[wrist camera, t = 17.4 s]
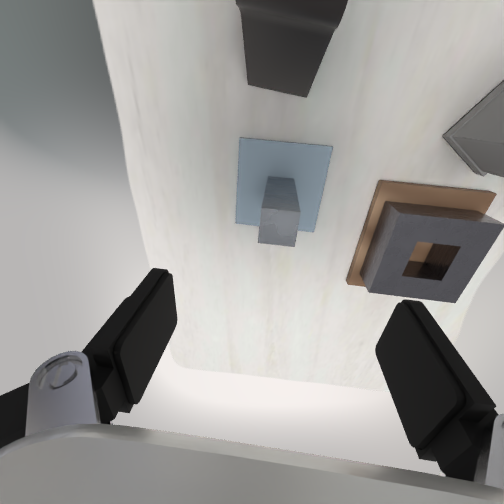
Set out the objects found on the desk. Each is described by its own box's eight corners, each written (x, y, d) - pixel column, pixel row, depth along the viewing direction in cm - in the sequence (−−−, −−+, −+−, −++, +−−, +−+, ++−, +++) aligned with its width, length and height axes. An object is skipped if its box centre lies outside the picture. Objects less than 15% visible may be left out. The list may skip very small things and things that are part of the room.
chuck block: (385, 200, 28) (400, 213, 24) (476, 210, 27) (505, 224, 24) (359, 273, 33) (368, 292, 29) (436, 282, 32) (455, 303, 29)
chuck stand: (379, 179, 28) (382, 182, 27) (489, 191, 27) (496, 193, 26) (346, 280, 35) (347, 284, 34) (433, 290, 34) (437, 295, 33)
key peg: (267, 176, 28) (261, 207, 19) (294, 178, 28) (300, 211, 19) (265, 201, 30) (257, 242, 20) (290, 203, 30) (294, 246, 20)
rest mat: (240, 137, 27) (239, 137, 27) (331, 146, 27) (332, 146, 26) (236, 221, 32) (235, 223, 32) (313, 230, 32) (313, 232, 31)
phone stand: (306, 98, 25) (323, 86, 14) (247, 84, 25) (223, 63, 14) (339, -29, 20) (399, -177, 10) (268, -45, 20) (254, -212, 10)
